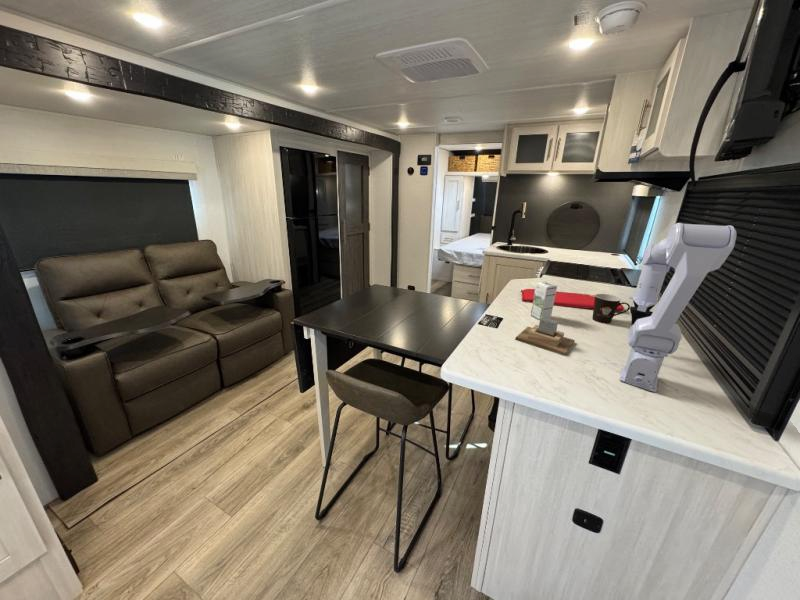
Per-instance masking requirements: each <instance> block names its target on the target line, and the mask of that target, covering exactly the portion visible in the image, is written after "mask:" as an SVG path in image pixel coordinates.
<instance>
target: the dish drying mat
mask: <svg viewBox="0 0 800 600" xmlns="http://www.w3.org/2000/svg"><path fill="white" fill-rule="evenodd" d="M521 292H522V294H521V301H522V302H524V301H525V302H524V303H531V304H533V299H534V293H535V288H525V289H521V290H520V293H521ZM594 300H595V294H589V293H588V294H586V293H577V292H568V291H567V292H564V291H558V290H556V295H555V299H554V304H553V306H559V307H567V308H568V307H570V308H581V309H591V310H592V309H594ZM624 309H625V307H624V304H621V305H620V306H618V307H617V309H616V311H618V312H623V311H625V310H624Z"/></svg>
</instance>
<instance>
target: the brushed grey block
mask: <svg viewBox="0 0 800 600" xmlns="http://www.w3.org/2000/svg"><path fill="white" fill-rule="evenodd" d="M558 325H559V320H556V319H552V318H551V319H549V318H545V317H542V318H541V319H540V320H539V324H538V326H539V328H538V333H541V334H545V335H548V336H552V337H555V335H556V331H558V330H557V329H558Z"/></svg>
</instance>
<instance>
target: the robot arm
mask: <svg viewBox="0 0 800 600" xmlns="http://www.w3.org/2000/svg"><path fill="white" fill-rule="evenodd" d="M736 240H737V230H736V228H735V227H734V226H733V225H730V224H729V225H713V224H711V225H710V224H692V223H682V222H677V223H675V224H673V225H672V226H671V228H670V229H669V230H668V234H667V237H665V238H663V239H662V240H660V241H659V242H658V243H656V244H651V243H649V244H647V245H646V247H645V248H644V249H645V250H644V252H643V255H642V264H643V265H642V269H641V272H640V274H639V278H638V282H637V285H636V289H635V292H634V295H632V294H631V295H629V296H628V299H630V300H632V303H633V304H634V305H633V306H631V305H630V309H629V310H630V315H631V316H630V317H631V322H630V323H631V324H630V327H629V330H628V332H627V344H628V346H629V347H630V352H629V354H628V358H627V361H626V364H625V365H624V366H623V368H622V371H621V374H620V377H619V381H620V382H623V383H626V384H629V385H631V386H634V387H638V388H641V389H644V390H646V391H650V392H653V393H656V392H657V389H658V380H659V379H658V378H659V373H660V370H661V367H662V364H663V361H664V359H665V358H668V357H669V355H672V354H674V353H675V352H676V351H677V350H678V348H679V346H680V341H681V340H682V330H681V328H680V326H679V325H678V324H677V323H676V322H677V320H678V319H679V318H680V317H681V314H682V313H683V311H684V310H685V308H686V307H687V305H688V304H689V302H690V300H691V299H692V297H694V294H695V293H696V291H697V290H698V288H699V287H700V286H701V284H702V282H703V281H704V279H705V278H706V276H707V274H709V273H710V272H713V271H716V270H719V269H720V268H721V267H722V265H723V264H724V263H725V262H726V260H727V259H728V256H730V255H731V253H732V251H733V250H734V247H735V244H736ZM671 268H673V269H674V274H673V276H672V277H671V279H670V280H669V283H668V284H667V286H666V288H665V290H664V291H663V294H662V295H661V297H660V299H658V298H659V295H660V294H661V289H662V287H663V284H664V282H665V278H666V276H667V273H669V272H670V269H671ZM658 300H659V301H658ZM654 307H655V308H654ZM653 308H654V310H653V311H651V310H652V309H653Z"/></svg>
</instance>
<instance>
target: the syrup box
mask: <svg viewBox="0 0 800 600" xmlns="http://www.w3.org/2000/svg"><path fill="white" fill-rule="evenodd" d="M534 287H535V288H534V289H535V293H534V299H533V303H532V305H531V311H530V316H531V317H533V318H535V319H536V320H539V321H540V319H541V318H542V317H545V318H549V319H552V313H553V309H554V305H553V304H554V299H555V295H556V291H558V290H557V289H558V285H557V284H554V283H551V282H548V281H539V282H536V283H535V286H534Z"/></svg>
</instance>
